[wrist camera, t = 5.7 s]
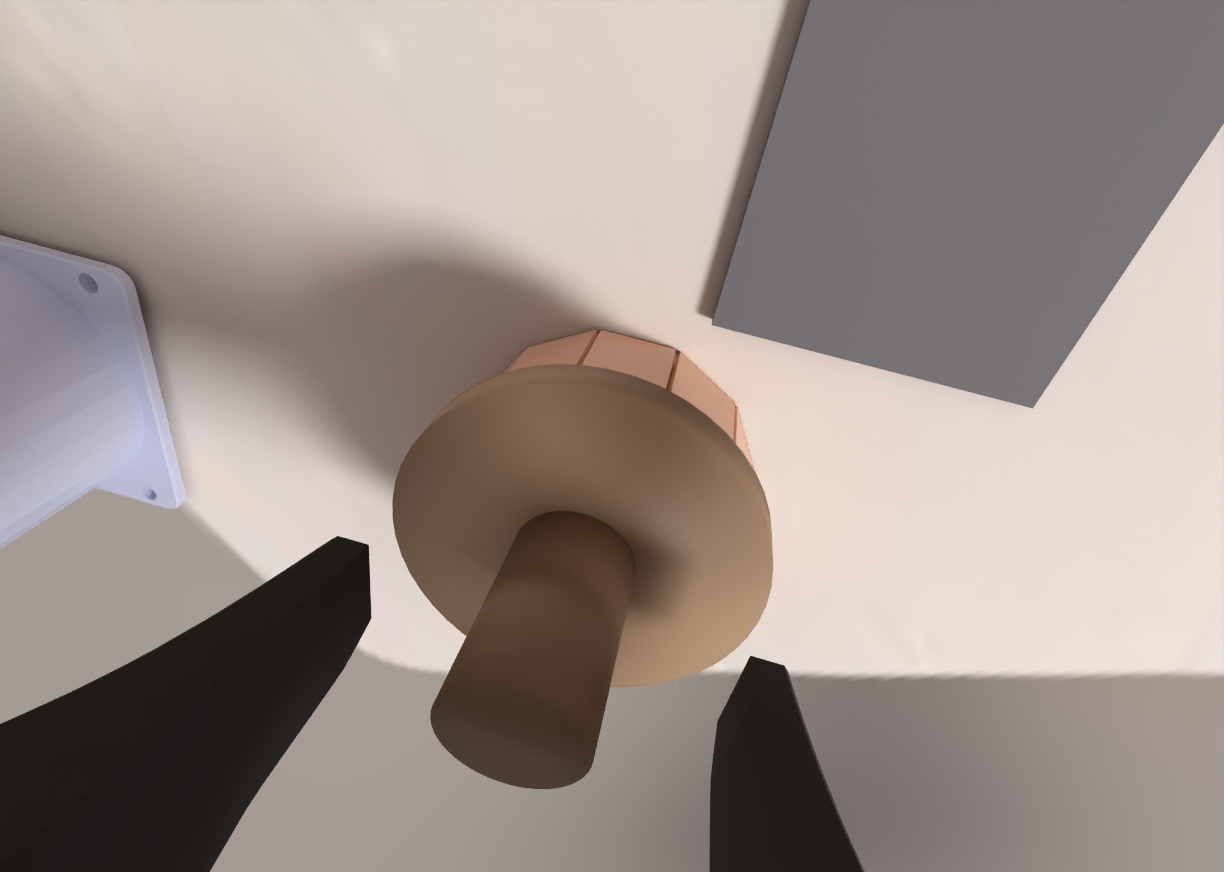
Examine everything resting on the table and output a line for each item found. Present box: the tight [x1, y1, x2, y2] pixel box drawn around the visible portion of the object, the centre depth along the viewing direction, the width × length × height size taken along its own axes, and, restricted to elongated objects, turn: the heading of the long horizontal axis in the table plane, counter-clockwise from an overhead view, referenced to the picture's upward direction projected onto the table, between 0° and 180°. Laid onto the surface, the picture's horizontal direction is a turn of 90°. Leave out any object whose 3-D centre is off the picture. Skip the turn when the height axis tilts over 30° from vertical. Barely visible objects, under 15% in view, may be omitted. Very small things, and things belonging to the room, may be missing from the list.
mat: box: [712, 0, 1224, 408], centre depth 11 cm, size 7×7×1 cm
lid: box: [393, 364, 773, 789], centre depth 11 cm, size 8×8×5 cm
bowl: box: [503, 330, 754, 469], centre depth 15 cm, size 7×7×3 cm
